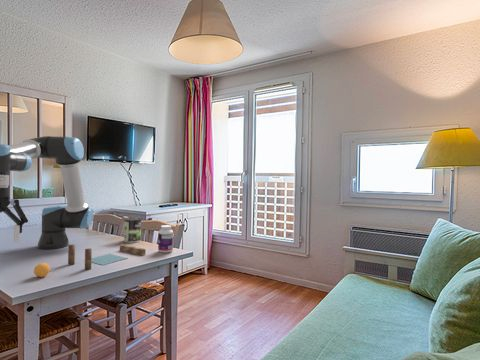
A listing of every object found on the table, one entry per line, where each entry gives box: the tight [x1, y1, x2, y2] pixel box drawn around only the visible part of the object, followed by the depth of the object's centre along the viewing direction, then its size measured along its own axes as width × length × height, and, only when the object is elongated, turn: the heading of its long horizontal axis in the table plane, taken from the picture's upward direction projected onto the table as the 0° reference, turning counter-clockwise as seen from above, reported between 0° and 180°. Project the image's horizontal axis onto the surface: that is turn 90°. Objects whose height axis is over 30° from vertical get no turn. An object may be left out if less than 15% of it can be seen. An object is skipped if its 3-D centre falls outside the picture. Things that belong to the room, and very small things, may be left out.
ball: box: [33, 262, 51, 278], centre depth 120 cm, size 6×6×6 cm
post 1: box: [67, 244, 76, 266], centre depth 137 cm, size 3×3×9 cm
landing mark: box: [91, 253, 128, 266], centre depth 146 cm, size 14×14×1 cm
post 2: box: [84, 247, 93, 271], centre depth 131 cm, size 3×3×9 cm
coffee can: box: [123, 217, 142, 244], centre depth 187 cm, size 10×10×14 cm
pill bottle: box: [157, 224, 174, 254], centre depth 164 cm, size 8×8×14 cm
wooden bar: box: [119, 244, 147, 256], centre depth 160 cm, size 18×2×3 cm, turn 61°
